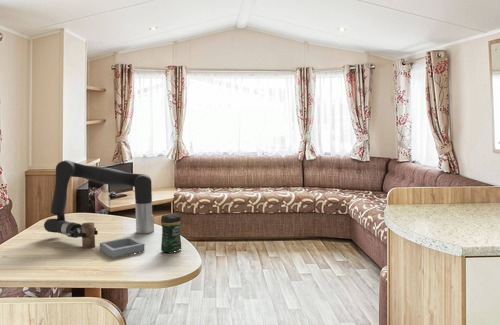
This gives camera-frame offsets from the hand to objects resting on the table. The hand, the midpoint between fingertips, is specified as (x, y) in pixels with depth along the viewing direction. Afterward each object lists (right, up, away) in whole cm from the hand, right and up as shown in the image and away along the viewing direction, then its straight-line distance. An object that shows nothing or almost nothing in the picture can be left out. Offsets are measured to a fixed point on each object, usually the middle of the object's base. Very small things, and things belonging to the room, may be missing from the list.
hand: (91, 234), depth 212 cm
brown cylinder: (-2, -7, +2) cm, 7 cm away
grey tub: (+17, -8, -5) cm, 20 cm away
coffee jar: (+41, -8, -5) cm, 42 cm away
